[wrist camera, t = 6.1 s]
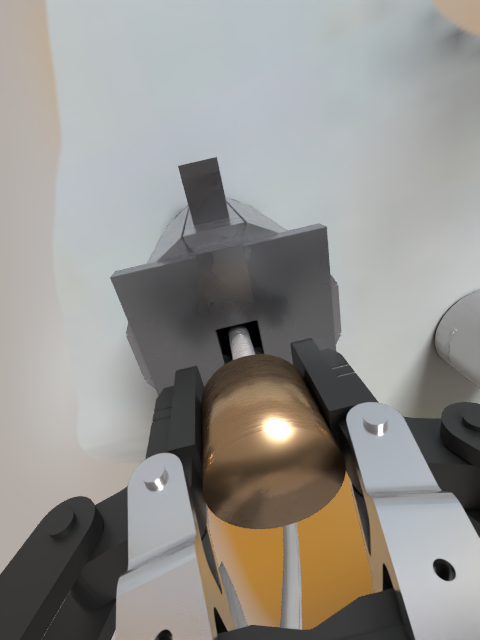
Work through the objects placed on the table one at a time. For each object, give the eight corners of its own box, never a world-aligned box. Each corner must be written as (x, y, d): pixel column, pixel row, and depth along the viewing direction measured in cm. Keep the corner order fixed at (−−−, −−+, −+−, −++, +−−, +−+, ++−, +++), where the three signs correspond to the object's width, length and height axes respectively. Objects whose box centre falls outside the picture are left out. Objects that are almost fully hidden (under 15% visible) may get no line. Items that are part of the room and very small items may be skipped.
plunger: (258, 211, 22) (424, 324, 6) (273, 299, 25) (409, 531, 9) (163, 233, 22) (69, 410, 6) (190, 319, 25) (176, 590, 9)
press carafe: (181, 316, 29) (166, 446, 15) (137, 179, 24) (54, 192, 10) (279, 292, 29) (351, 400, 16) (257, 152, 24) (337, 127, 10)
